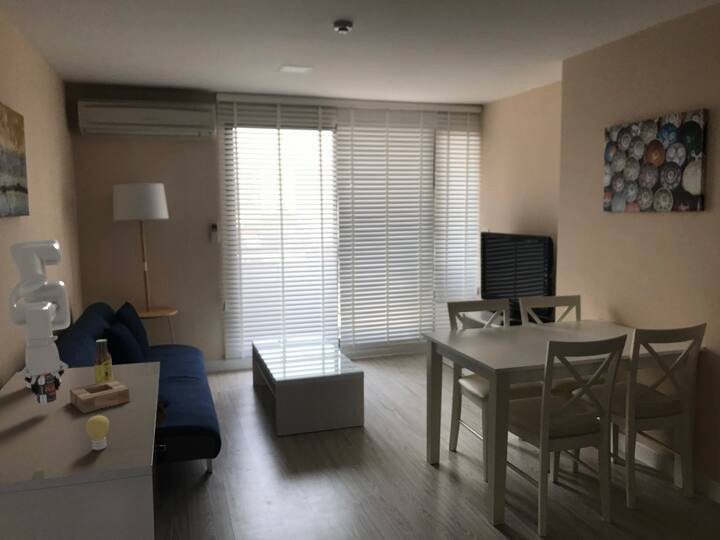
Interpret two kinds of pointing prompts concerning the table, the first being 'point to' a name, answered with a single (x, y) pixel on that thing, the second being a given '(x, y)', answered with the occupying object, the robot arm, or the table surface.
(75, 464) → the table surface
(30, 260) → the robot arm
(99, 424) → the light bulb
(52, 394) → the pill bottle
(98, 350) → the sauce bottle
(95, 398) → the socket block
